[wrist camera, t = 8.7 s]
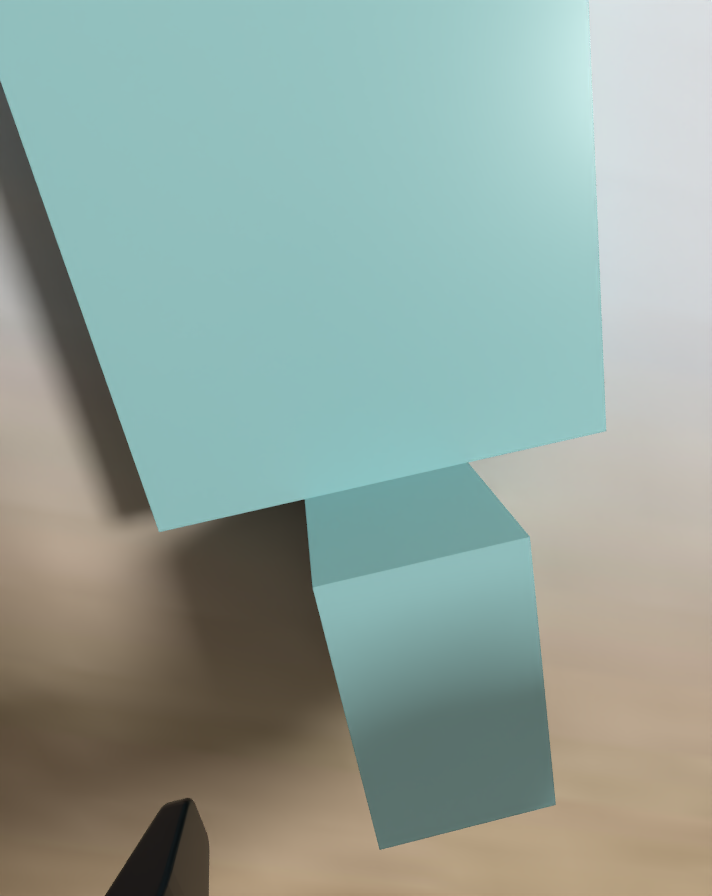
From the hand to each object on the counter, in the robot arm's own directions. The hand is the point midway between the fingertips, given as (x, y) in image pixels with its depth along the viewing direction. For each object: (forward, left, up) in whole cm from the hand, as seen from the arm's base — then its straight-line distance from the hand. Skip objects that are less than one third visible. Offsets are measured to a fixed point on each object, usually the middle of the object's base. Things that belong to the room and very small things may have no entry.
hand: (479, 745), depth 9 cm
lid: (0, +7, -6) cm, 10 cm away
